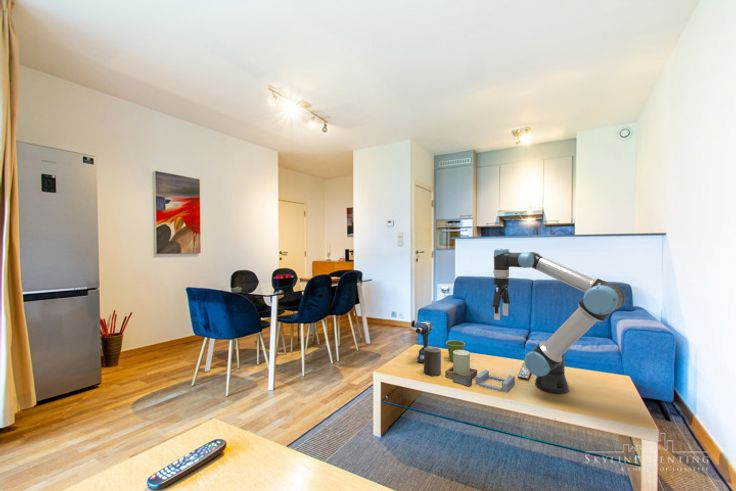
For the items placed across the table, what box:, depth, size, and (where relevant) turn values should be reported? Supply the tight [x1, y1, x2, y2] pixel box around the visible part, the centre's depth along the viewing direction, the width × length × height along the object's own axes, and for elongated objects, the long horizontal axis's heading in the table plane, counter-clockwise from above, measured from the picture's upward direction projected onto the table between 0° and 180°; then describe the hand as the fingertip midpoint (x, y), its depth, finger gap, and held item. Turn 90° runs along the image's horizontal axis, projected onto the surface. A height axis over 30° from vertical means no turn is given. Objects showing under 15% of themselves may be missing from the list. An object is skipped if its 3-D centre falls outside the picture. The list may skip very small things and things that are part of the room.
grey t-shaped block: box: [452, 374, 473, 387], centre depth 180 cm, size 9×4×4 cm, turn 51°
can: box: [452, 349, 471, 376], centre depth 189 cm, size 9×9×12 cm
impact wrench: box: [415, 320, 434, 364], centre depth 213 cm, size 8×22×25 cm, turn 152°
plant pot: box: [445, 339, 466, 363], centre depth 216 cm, size 12×12×11 cm
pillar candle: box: [423, 346, 442, 377], centre depth 195 cm, size 10×10×15 cm
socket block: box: [474, 369, 516, 393], centre depth 179 cm, size 16×15×4 cm
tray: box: [445, 365, 478, 380], centre depth 189 cm, size 13×13×4 cm
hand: (501, 317), depth 181 cm, fingers open, 13 cm apart
